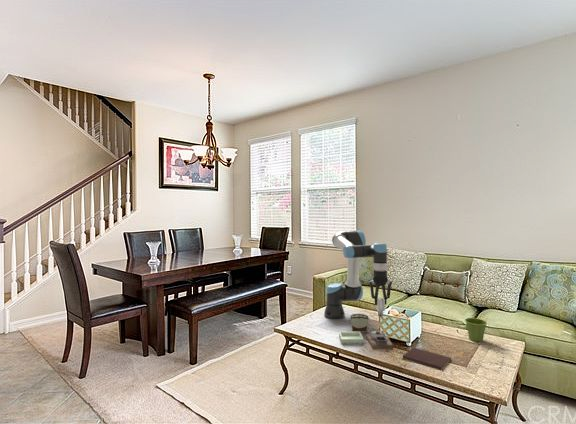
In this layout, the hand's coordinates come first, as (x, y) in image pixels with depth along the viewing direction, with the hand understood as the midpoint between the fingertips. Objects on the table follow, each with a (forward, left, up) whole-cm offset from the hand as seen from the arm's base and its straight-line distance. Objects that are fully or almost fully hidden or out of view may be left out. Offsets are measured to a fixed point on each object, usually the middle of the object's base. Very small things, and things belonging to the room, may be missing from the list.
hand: (380, 310), depth 192 cm
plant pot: (-9, +59, -21) cm, 63 cm away
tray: (-9, -16, -21) cm, 28 cm away
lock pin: (0, 0, -3) cm, 3 cm away
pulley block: (-5, 0, -21) cm, 22 cm away
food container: (-26, -8, -21) cm, 34 cm away
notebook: (+16, +20, -22) cm, 34 cm away
